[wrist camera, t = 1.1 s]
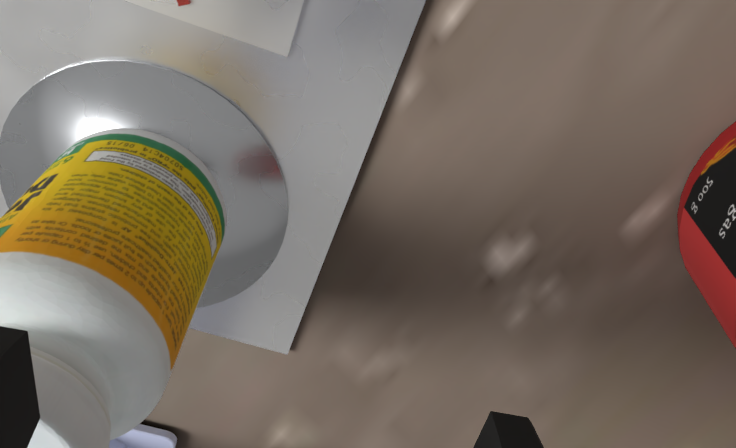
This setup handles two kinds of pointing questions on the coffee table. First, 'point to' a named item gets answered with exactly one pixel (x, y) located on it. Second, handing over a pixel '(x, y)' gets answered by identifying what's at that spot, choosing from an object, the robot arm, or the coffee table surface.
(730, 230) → the canned food
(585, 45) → the coffee table surface
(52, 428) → the supplement bottle
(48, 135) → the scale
